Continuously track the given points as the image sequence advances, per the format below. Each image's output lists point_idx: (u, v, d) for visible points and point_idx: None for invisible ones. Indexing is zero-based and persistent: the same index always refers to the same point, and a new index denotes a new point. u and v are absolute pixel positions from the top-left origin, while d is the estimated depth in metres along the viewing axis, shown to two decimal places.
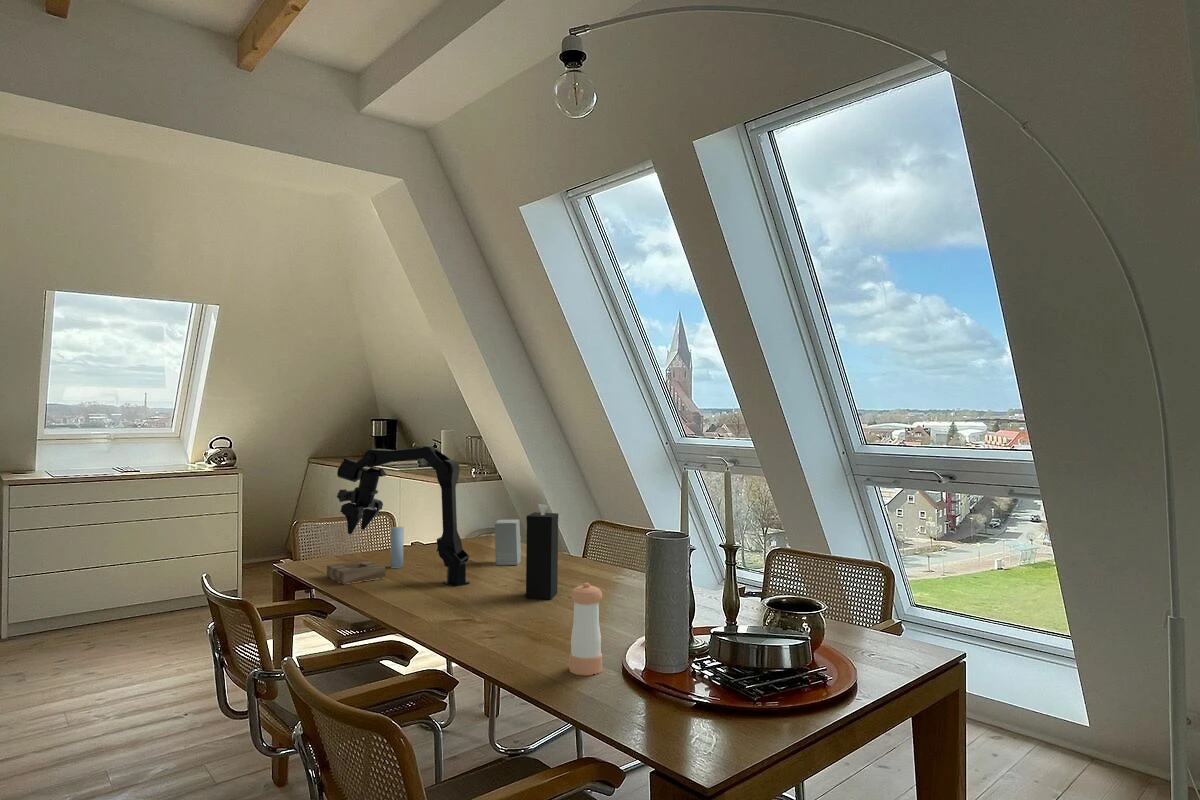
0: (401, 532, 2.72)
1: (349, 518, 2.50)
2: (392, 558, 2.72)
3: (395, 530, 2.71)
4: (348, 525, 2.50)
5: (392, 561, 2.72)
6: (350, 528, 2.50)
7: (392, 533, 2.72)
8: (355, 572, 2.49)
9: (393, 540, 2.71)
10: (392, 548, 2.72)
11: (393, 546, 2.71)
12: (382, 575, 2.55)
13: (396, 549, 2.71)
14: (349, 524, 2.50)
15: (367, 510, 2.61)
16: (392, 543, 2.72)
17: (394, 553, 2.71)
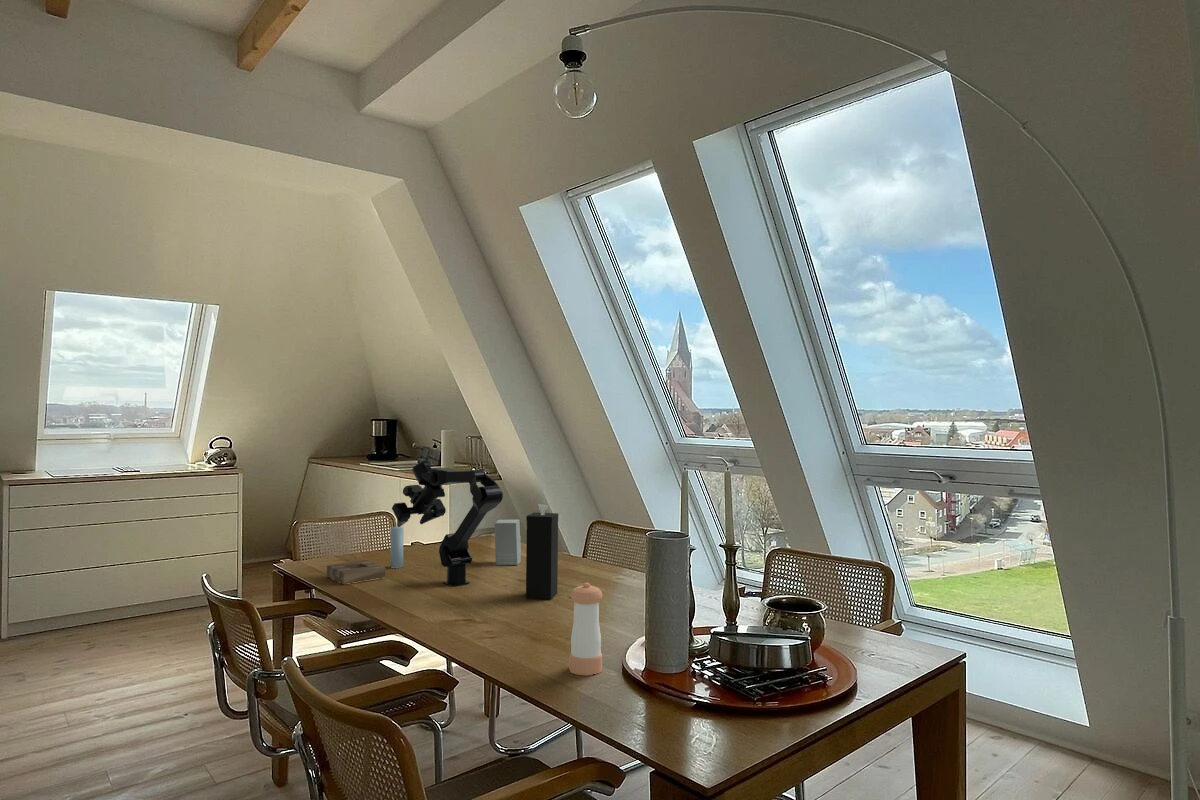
0: (401, 532, 2.72)
1: None
2: (392, 558, 2.72)
3: (395, 530, 2.71)
4: (397, 520, 2.63)
5: (392, 561, 2.72)
6: (398, 523, 2.63)
7: (392, 533, 2.72)
8: (355, 572, 2.49)
9: (393, 540, 2.71)
10: (392, 548, 2.72)
11: (393, 546, 2.71)
12: (382, 575, 2.55)
13: (396, 549, 2.71)
14: (398, 519, 2.63)
15: None
16: (392, 543, 2.72)
17: (394, 553, 2.71)
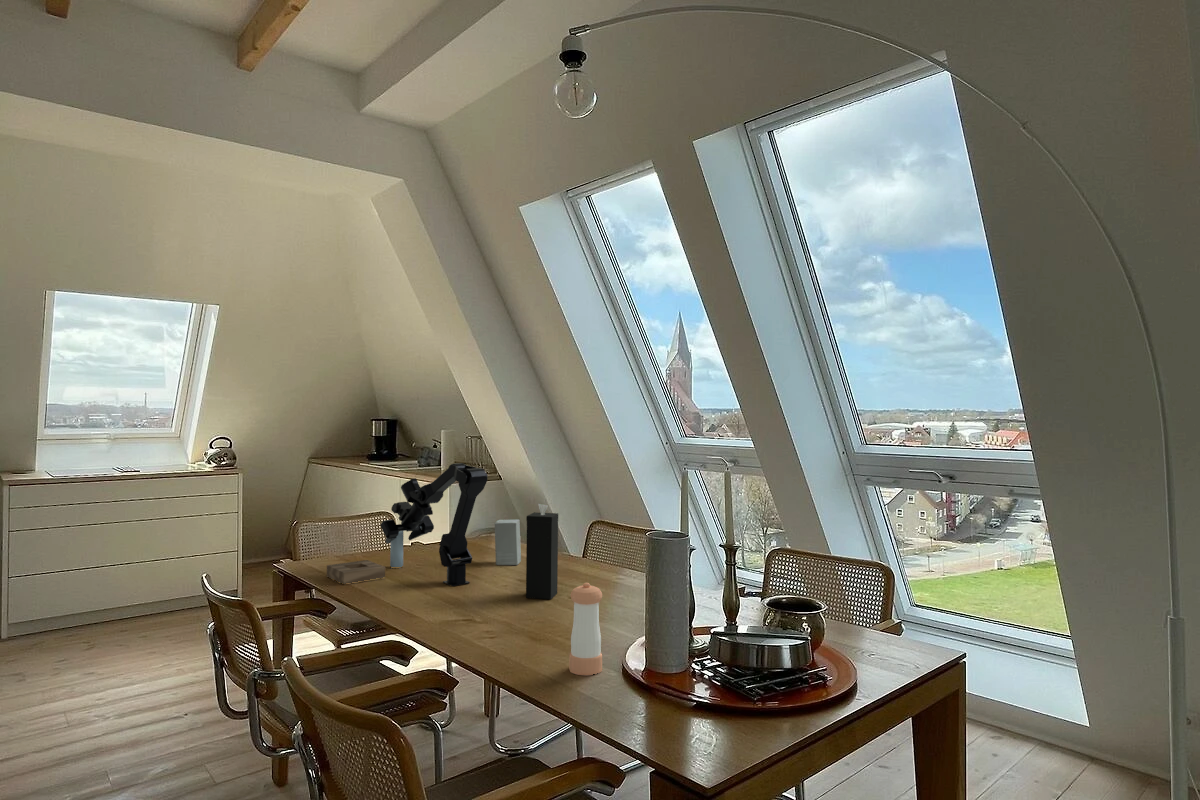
0: (401, 532, 2.72)
1: None
2: (392, 558, 2.72)
3: None
4: None
5: (392, 561, 2.72)
6: (387, 539, 2.68)
7: None
8: (355, 572, 2.49)
9: (393, 540, 2.71)
10: (392, 548, 2.72)
11: (393, 546, 2.71)
12: (382, 575, 2.55)
13: (396, 549, 2.71)
14: None
15: None
16: (392, 543, 2.72)
17: (394, 553, 2.71)
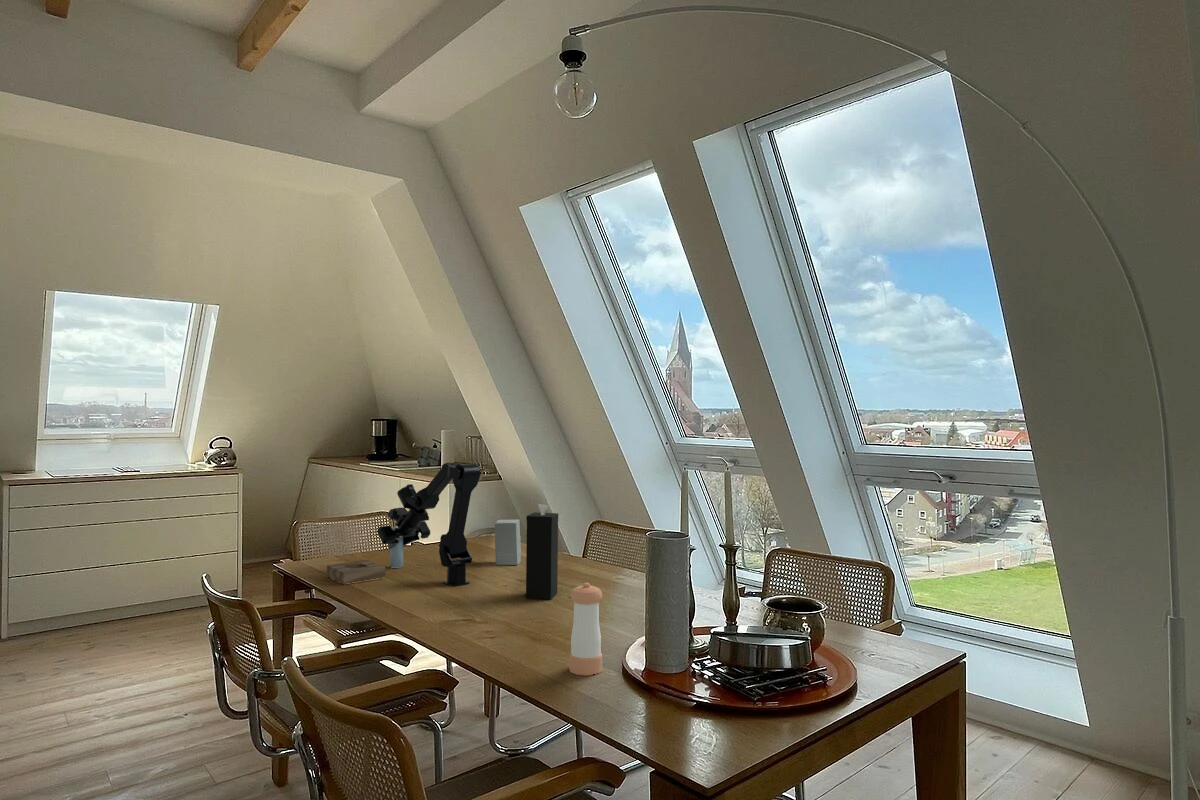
0: None
1: None
2: (392, 558, 2.72)
3: None
4: None
5: (392, 561, 2.72)
6: (389, 544, 2.71)
7: None
8: (355, 572, 2.49)
9: None
10: (392, 548, 2.72)
11: (393, 546, 2.71)
12: (382, 575, 2.55)
13: (396, 549, 2.71)
14: None
15: None
16: None
17: (394, 553, 2.71)
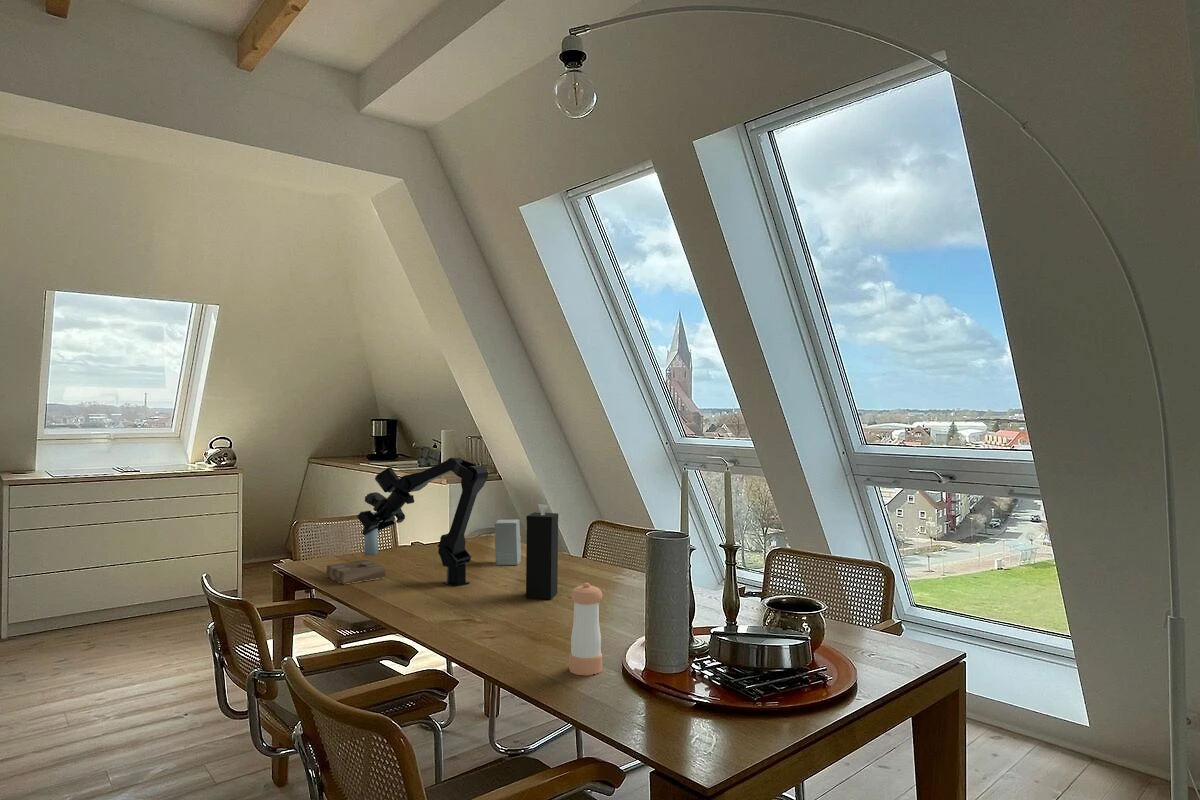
0: None
1: None
2: (368, 545, 2.62)
3: None
4: (364, 527, 2.61)
5: (368, 548, 2.62)
6: (365, 531, 2.61)
7: None
8: (355, 572, 2.49)
9: None
10: (368, 534, 2.62)
11: None
12: (382, 575, 2.55)
13: (372, 535, 2.62)
14: None
15: None
16: None
17: (370, 540, 2.62)
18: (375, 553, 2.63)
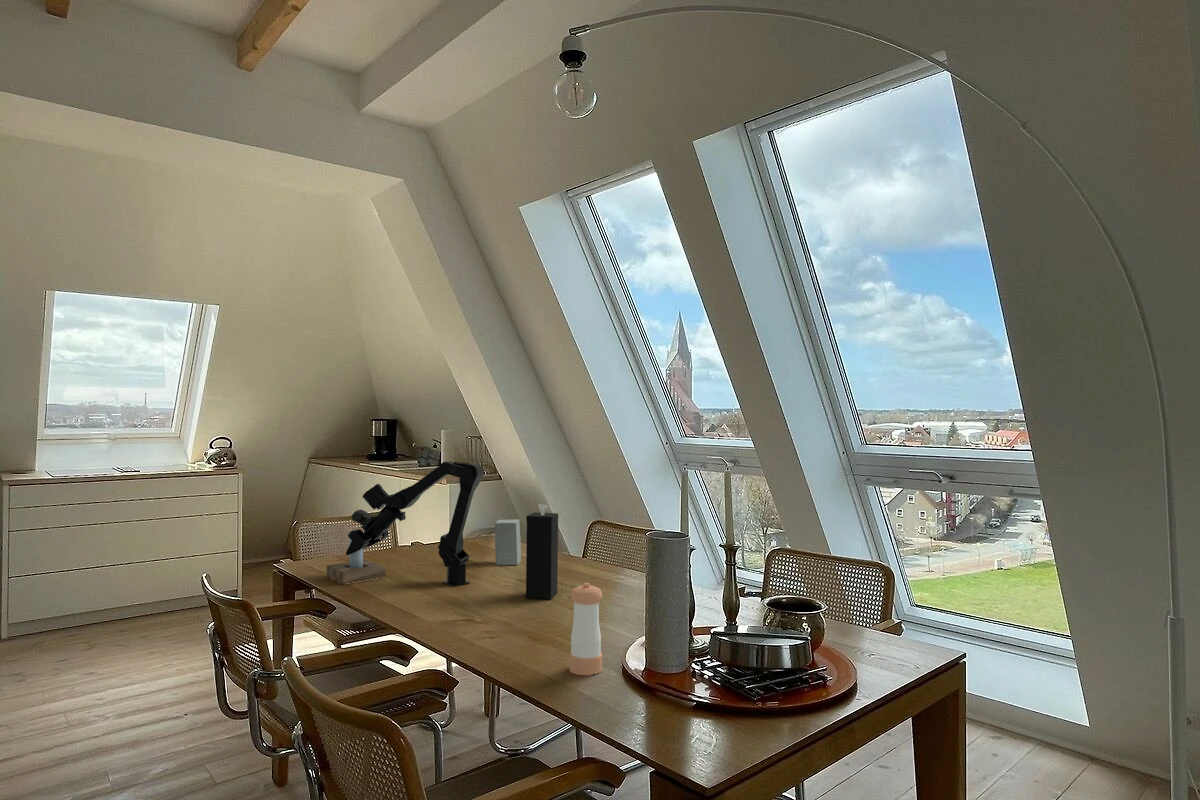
0: None
1: (353, 542, 2.51)
2: None
3: None
4: (349, 547, 2.52)
5: None
6: (350, 550, 2.52)
7: None
8: (355, 572, 2.49)
9: None
10: (354, 558, 2.54)
11: (355, 555, 2.54)
12: (382, 575, 2.55)
13: (359, 558, 2.55)
14: (350, 546, 2.52)
15: None
16: (354, 553, 2.54)
17: (356, 563, 2.54)
18: None
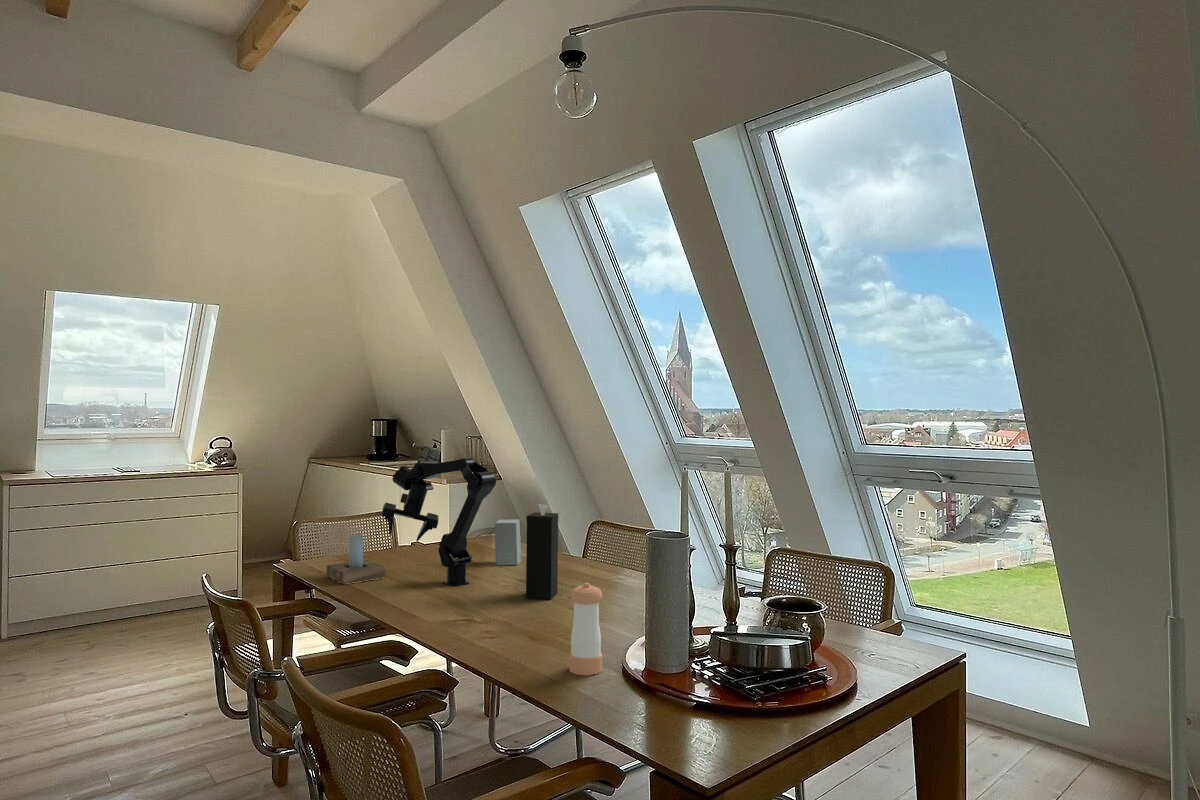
0: (362, 540, 2.56)
1: None
2: None
3: (357, 538, 2.54)
4: None
5: None
6: (389, 529, 2.61)
7: (354, 542, 2.54)
8: (355, 572, 2.49)
9: (355, 549, 2.54)
10: (354, 558, 2.54)
11: (355, 555, 2.54)
12: (382, 575, 2.55)
13: (358, 558, 2.55)
14: None
15: (423, 524, 2.63)
16: (354, 553, 2.54)
17: (356, 563, 2.54)
18: None
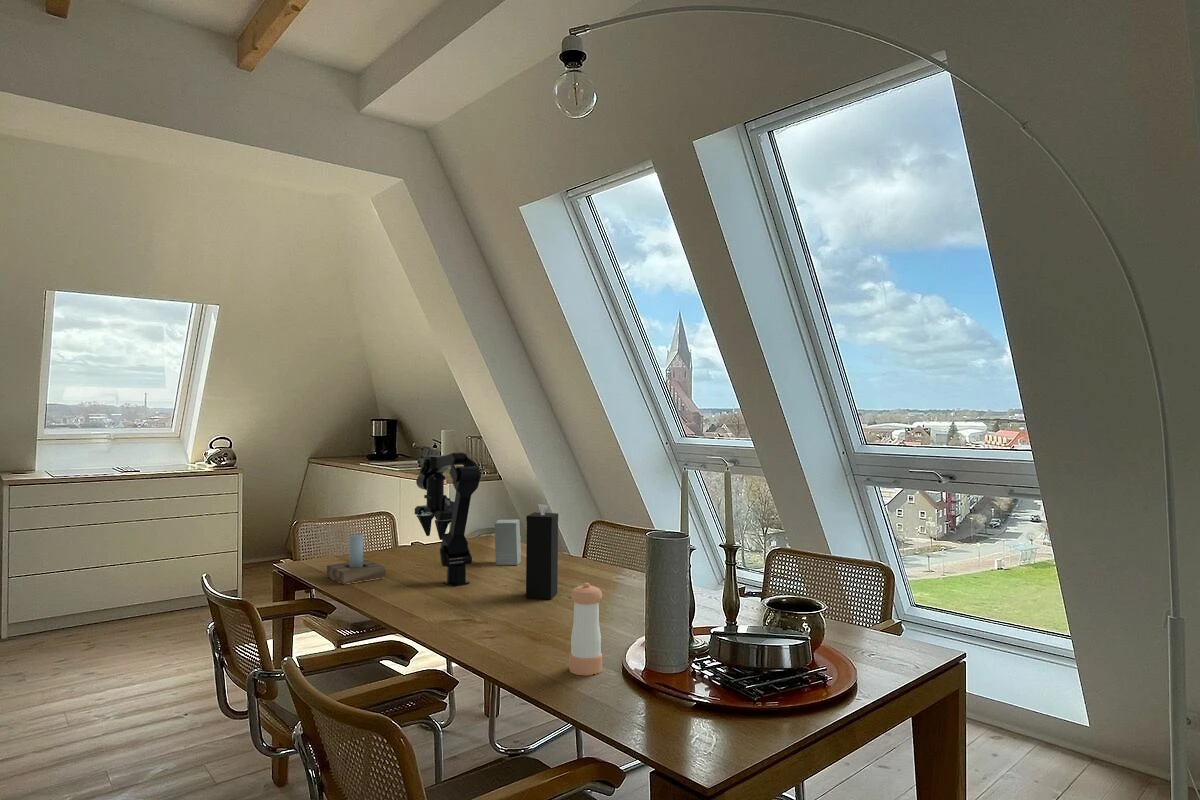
0: None
1: None
2: None
3: (358, 538, 2.55)
4: None
5: None
6: None
7: (354, 542, 2.54)
8: (355, 572, 2.49)
9: (355, 549, 2.54)
10: (354, 557, 2.54)
11: (355, 555, 2.54)
12: (382, 575, 2.55)
13: (359, 558, 2.55)
14: None
15: None
16: (354, 552, 2.54)
17: (356, 563, 2.54)
18: None
